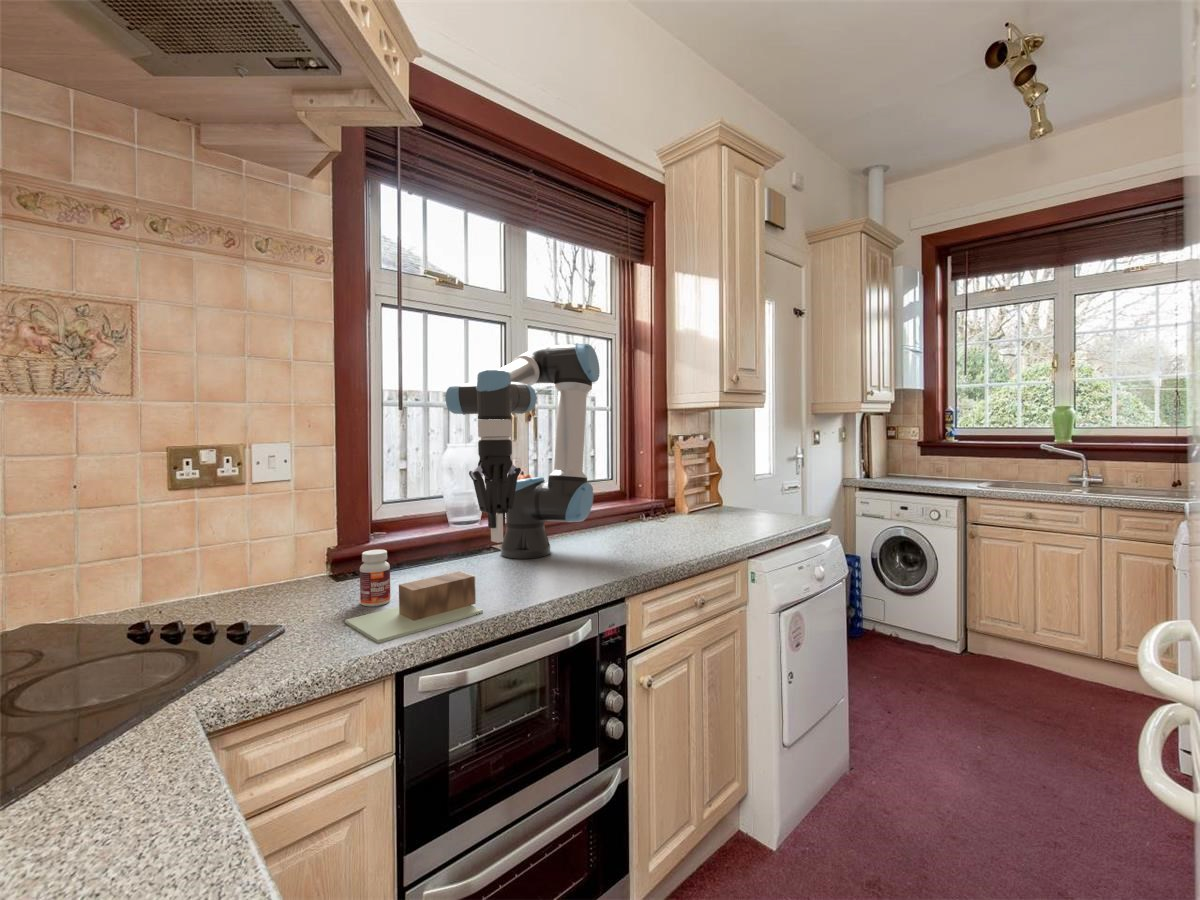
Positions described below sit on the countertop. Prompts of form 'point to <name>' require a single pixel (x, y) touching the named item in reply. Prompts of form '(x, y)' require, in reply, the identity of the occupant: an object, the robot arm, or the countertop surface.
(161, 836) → the countertop surface
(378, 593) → the pill bottle
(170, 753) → the countertop surface
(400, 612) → the walnut block
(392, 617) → the board
